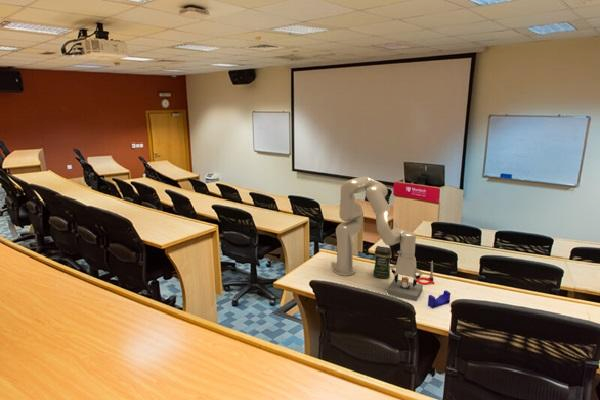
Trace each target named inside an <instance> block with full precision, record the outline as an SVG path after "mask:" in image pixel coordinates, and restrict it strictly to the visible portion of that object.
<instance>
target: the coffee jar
mask: <svg viewBox="0 0 600 400" xmlns="http://www.w3.org/2000/svg"><path fill="white" fill-rule="evenodd" d="M374 256H375V261H374V268H373V277H374V278H375V277H376V278H379V279H383V280H384V279H389V278H390V276H391V269H390V267H391V263H390V262H391V256H392V248H391V247H388V246H379V245H377V246H376V247H375V250H374Z"/></svg>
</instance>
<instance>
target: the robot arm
mask: <svg viewBox="0 0 600 400" xmlns="http://www.w3.org/2000/svg"><path fill="white" fill-rule="evenodd" d="M341 184H342V185H341V186H340V200H339V218H340V220H342V221H343V222H341V223H340V224H338V225H337V226H336V228H335V234H336V262H333V261H332V262H331V263H330V265H331V268H332V267H333V268H334V273H335V274H336V275H339V276H345V277H346V276H352V275H354V274H355V271H356V269H355V267H353V264H354V263H353V261H354V260H353V259H354V256H353V255H354V242H353V240H352V237H353V236H355V235H357V234H359V233H360V231H361V230H362V222H363V208H362V206H361V205H360V203H359V202H356V197H355V194H358V193H362V192H365V196H366V199H367V200H368V202H369V204H370V206H371V209H372V211H373V212H374V214H375V224H376V229H377V232H378V234H379V237H380V239H381V240H382V242H383V243H384V244H385V245H387V246H394V245H396V244H398V243H400V247H399V250H397V254H398V256H397V258H396V259H397V260H396V264H394V265H390V272H391V274H393V276H394V278H393V280H395V283H397V281H398V280H399V275H401V276H403V277H410V278H413V279H412V281H413V282H412V283H413V287H414V286H415V285H416V284H418V283H417V279H419V278H420V277H421V276H422V275H424V273H423V272H422V270H419V268H417V260H416V256H415V253H416V243H417V242H416V239H417V235H416V233H415V232H413V231H410V230H409V231H408V230H405V229H403V228H400V227H394V228H392V229H391V227H390V225H389V220H388V219H389V215H390V212H391V208H390V205H389V204H388V201H387V200H386V196H387V195H388V187H387V186H386V185H385V184H384V183H382V182H380V181H378V180H375V179H373V178H370V177H369V176H364V175H363V176H359V177H355V178H352V179H349V180H346V181H344V182H343V183H341ZM416 273H417V274H418V275H417V274H416Z"/></svg>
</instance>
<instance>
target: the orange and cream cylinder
mask: <svg viewBox="0 0 600 400" xmlns="http://www.w3.org/2000/svg"><path fill="white" fill-rule="evenodd" d="M401 280H402V283H401V288H402V289H406V290H408V282H410V281H409V280H410V279H409V278H408V276H402V277H401Z"/></svg>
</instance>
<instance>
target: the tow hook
mask: <svg viewBox="0 0 600 400" xmlns="http://www.w3.org/2000/svg"><path fill="white" fill-rule="evenodd" d="M420 280H421V281H420ZM422 280H424V281H425V280H426V281H427V282H423V281H422ZM417 284H420V285H423V286H427V285H428V286H429V285H435V282H434V263H433V260H432V261H431V264H430V273H429V277H427V276H426V277H425V276H422V277H420V278H419V279H417Z"/></svg>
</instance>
